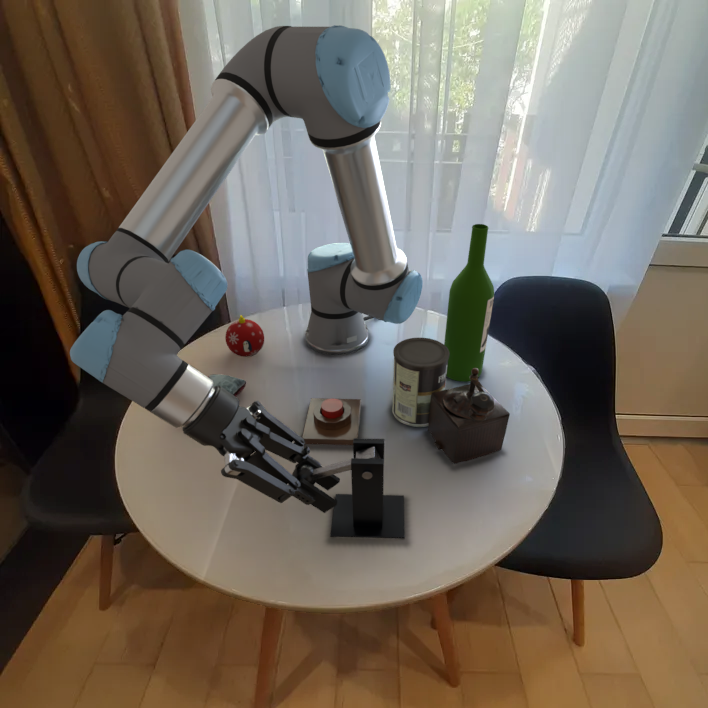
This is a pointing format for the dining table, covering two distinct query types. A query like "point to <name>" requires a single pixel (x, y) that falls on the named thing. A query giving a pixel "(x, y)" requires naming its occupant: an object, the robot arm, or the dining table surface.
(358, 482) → the bracket
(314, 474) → the lever
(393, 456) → the dining table surface
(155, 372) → the robot arm
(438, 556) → the dining table surface
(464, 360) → the wine bottle
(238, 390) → the packaged food
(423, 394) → the coffee can
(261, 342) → the christmas ornament
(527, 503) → the dining table surface
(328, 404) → the button
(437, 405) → the brown coffee grinder
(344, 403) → the button block
